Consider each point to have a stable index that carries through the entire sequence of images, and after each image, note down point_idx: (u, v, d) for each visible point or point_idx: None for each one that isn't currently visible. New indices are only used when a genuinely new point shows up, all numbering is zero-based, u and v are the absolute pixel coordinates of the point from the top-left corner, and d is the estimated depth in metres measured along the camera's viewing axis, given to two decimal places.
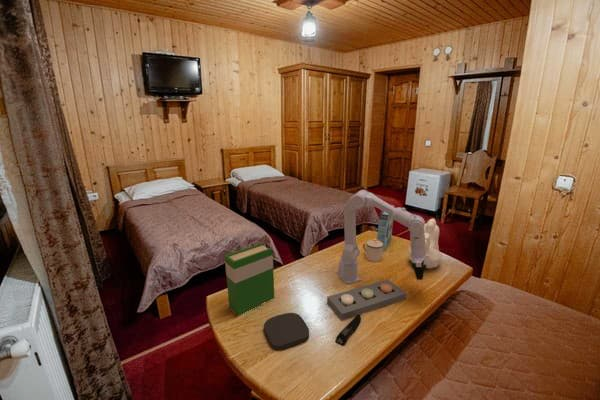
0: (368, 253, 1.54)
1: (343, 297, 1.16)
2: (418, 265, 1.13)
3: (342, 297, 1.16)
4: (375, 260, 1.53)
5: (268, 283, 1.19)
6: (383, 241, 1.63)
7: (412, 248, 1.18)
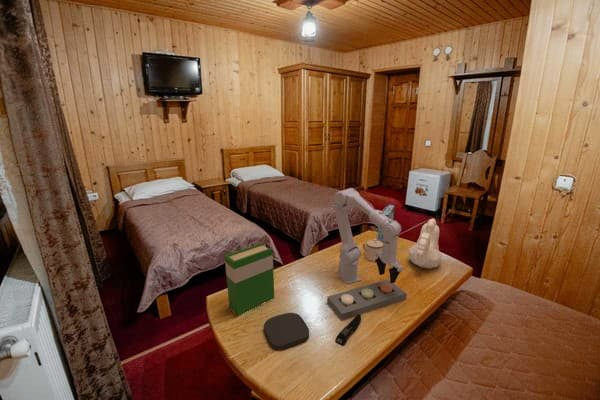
0: (368, 253, 1.54)
1: (343, 297, 1.16)
2: (400, 270, 1.14)
3: (342, 297, 1.16)
4: None
5: (268, 283, 1.19)
6: None
7: (388, 254, 1.17)
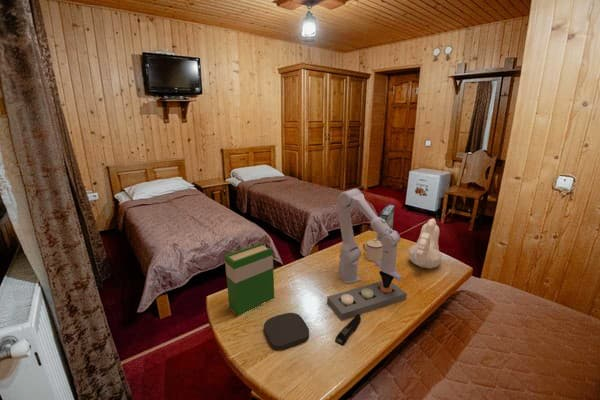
0: (368, 253, 1.54)
1: (343, 297, 1.16)
2: (399, 279, 1.15)
3: (342, 297, 1.16)
4: (375, 260, 1.53)
5: (268, 283, 1.19)
6: None
7: (387, 263, 1.18)
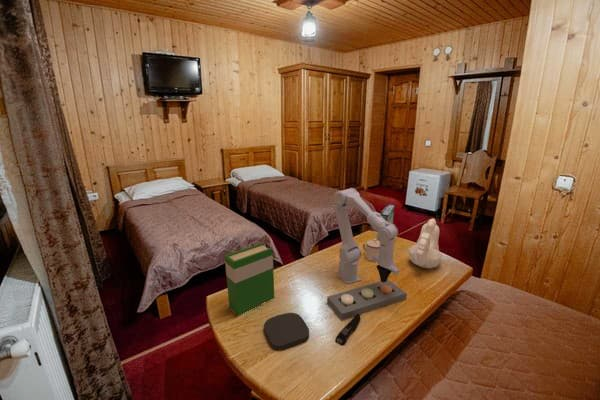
0: (368, 253, 1.54)
1: (343, 297, 1.16)
2: (397, 273, 1.14)
3: (342, 297, 1.16)
4: (375, 260, 1.53)
5: (268, 283, 1.19)
6: None
7: (384, 257, 1.16)
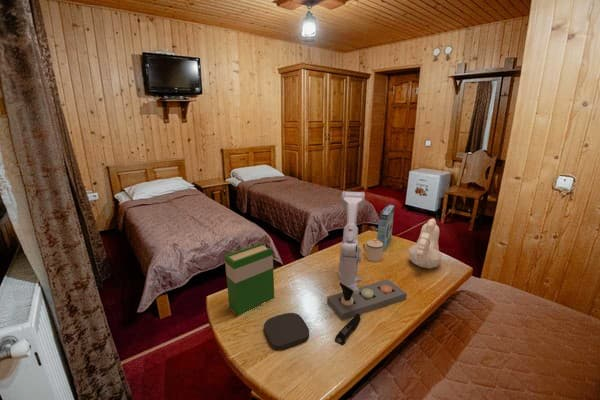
0: (368, 253, 1.54)
1: (343, 299, 1.17)
2: (356, 292, 1.08)
3: (342, 299, 1.17)
4: (375, 260, 1.53)
5: (268, 283, 1.19)
6: (383, 241, 1.63)
7: (345, 275, 1.11)
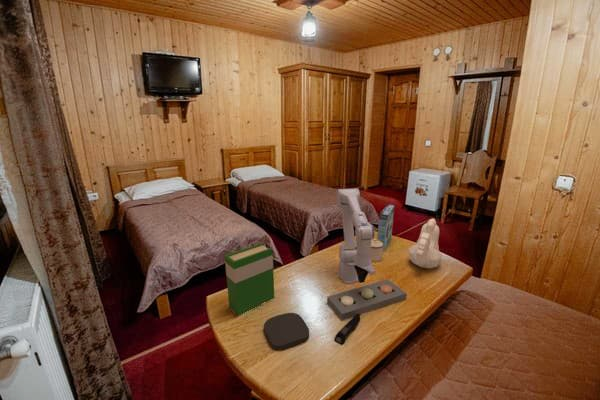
0: None
1: (343, 299, 1.17)
2: (373, 273, 1.12)
3: (342, 299, 1.17)
4: (375, 260, 1.53)
5: (268, 283, 1.19)
6: (383, 241, 1.63)
7: (361, 257, 1.15)
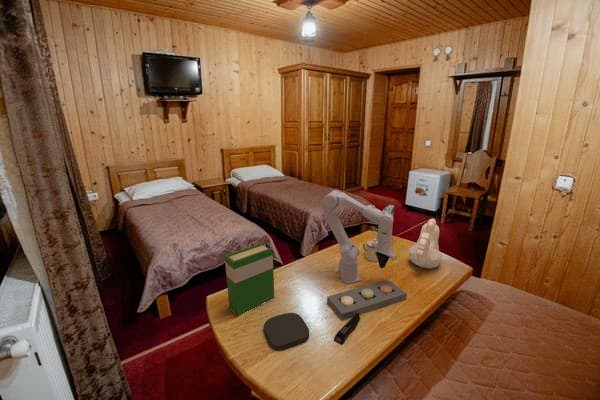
0: (368, 253, 1.54)
1: (343, 299, 1.17)
2: (394, 258, 1.21)
3: (342, 299, 1.17)
4: (375, 260, 1.53)
5: (268, 283, 1.19)
6: None
7: (383, 244, 1.24)
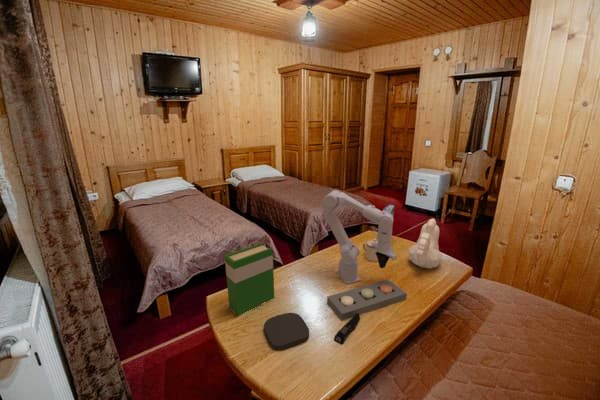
0: (368, 253, 1.54)
1: (343, 299, 1.17)
2: (394, 258, 1.21)
3: (342, 299, 1.17)
4: (375, 260, 1.53)
5: (268, 283, 1.19)
6: None
7: (383, 244, 1.24)
